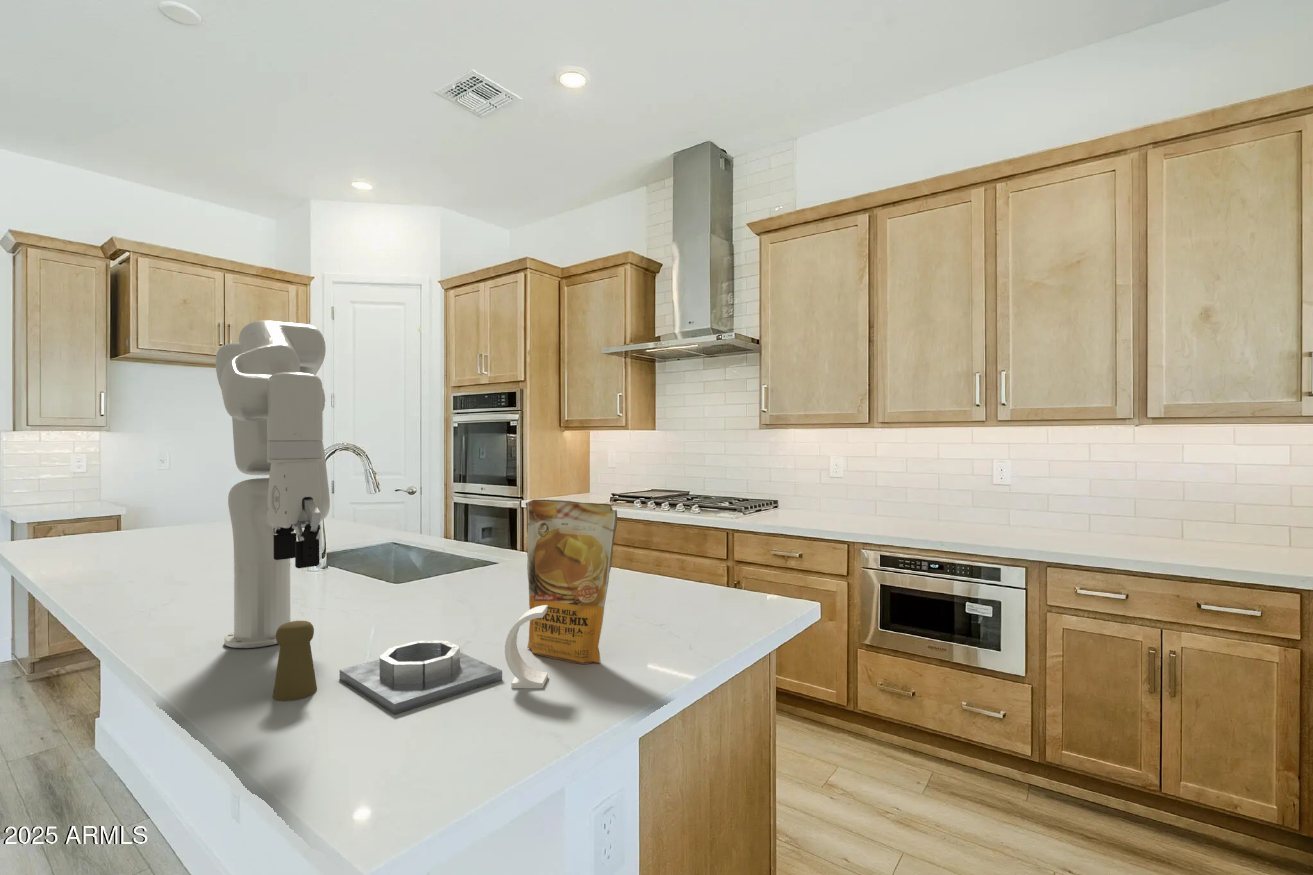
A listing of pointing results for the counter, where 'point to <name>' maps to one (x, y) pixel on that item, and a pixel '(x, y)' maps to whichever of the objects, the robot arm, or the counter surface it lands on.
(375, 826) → the counter surface
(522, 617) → the headphone stand
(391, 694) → the plate
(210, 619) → the counter surface
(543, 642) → the pancake mix bag
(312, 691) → the cork
